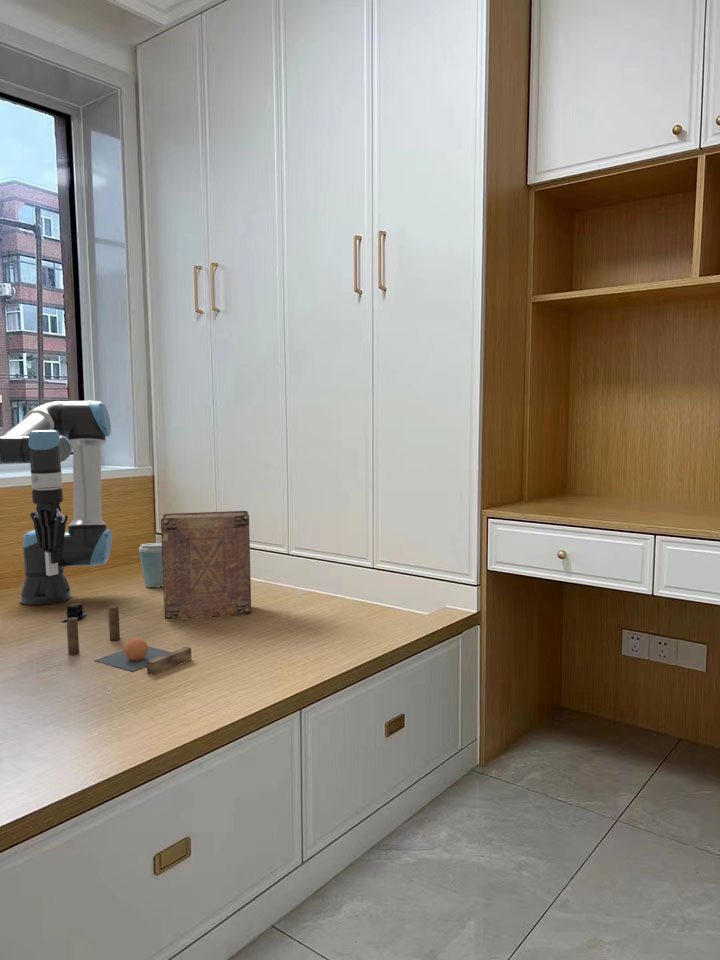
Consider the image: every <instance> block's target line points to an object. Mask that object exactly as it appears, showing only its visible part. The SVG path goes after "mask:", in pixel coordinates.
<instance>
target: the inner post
mask: <svg viewBox="0 0 720 960" xmlns="http://www.w3.org/2000/svg"><path fill="white" fill-rule="evenodd" d="M108 625H109V629H108V630H109V641H110V642H113V643H115V642H118V641H120V640H121V629H120V606H119V605H110V606H108Z"/></svg>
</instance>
